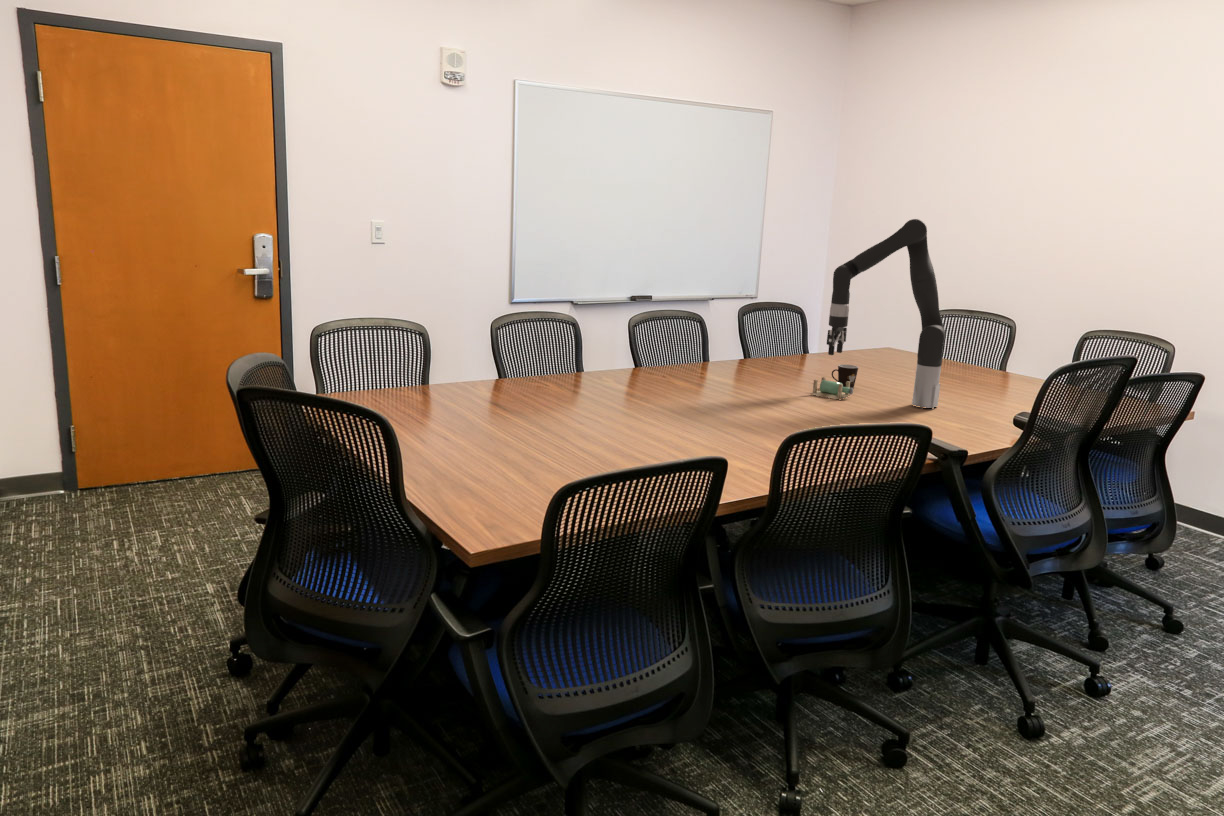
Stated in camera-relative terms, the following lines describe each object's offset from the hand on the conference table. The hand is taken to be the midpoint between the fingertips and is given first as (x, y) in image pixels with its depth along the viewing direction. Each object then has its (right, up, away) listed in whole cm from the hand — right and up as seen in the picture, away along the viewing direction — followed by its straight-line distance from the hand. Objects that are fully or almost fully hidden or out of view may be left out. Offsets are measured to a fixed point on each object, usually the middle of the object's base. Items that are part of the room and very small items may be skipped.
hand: (835, 353), depth 361 cm
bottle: (+1, -17, +3) cm, 17 cm away
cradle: (-1, -17, +4) cm, 18 cm away
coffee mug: (+8, -14, +20) cm, 26 cm away
